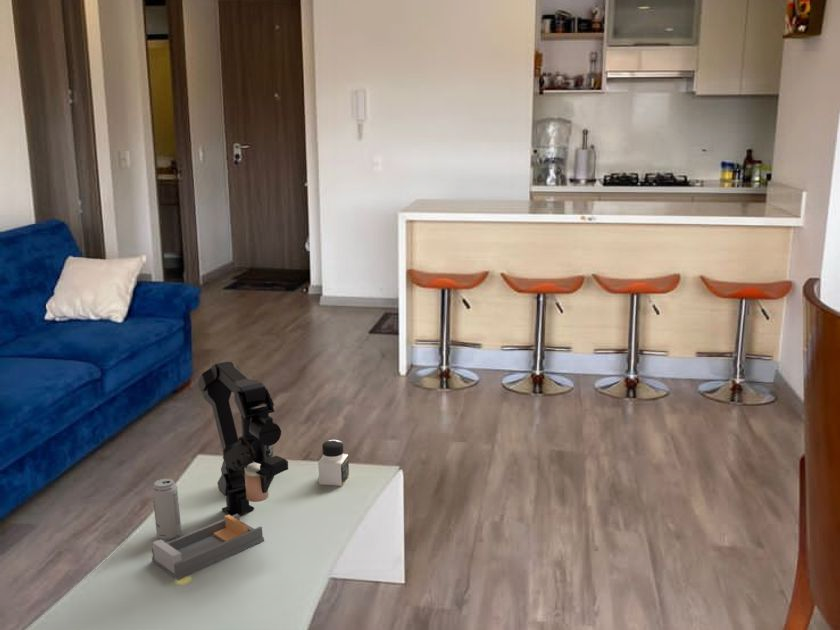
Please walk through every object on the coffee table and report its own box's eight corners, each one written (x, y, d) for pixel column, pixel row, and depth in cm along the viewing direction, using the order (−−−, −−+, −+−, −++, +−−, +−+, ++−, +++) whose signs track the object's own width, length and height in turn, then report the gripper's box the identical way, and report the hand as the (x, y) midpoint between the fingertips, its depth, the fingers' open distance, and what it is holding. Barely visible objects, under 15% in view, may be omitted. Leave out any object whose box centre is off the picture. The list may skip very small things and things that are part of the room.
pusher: (213, 535, 202) (212, 521, 201) (229, 528, 205) (228, 514, 204) (232, 546, 196) (231, 532, 195) (248, 539, 200) (247, 525, 199)
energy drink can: (158, 531, 206) (153, 478, 203) (182, 529, 207) (177, 475, 204) (155, 543, 200) (150, 488, 197) (180, 540, 202) (175, 486, 198)
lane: (152, 561, 192) (150, 540, 191) (237, 525, 209) (235, 506, 208) (178, 579, 184) (175, 558, 183) (263, 540, 201) (262, 520, 200)
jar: (258, 489, 207) (256, 460, 205) (273, 495, 204) (271, 466, 202) (241, 497, 203) (239, 468, 201) (256, 504, 200) (254, 473, 198)
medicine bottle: (342, 486, 231) (340, 447, 228) (318, 484, 232) (317, 446, 229) (349, 476, 238) (347, 438, 235) (326, 474, 239) (324, 436, 236)
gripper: (203, 433, 199) (208, 490, 202) (253, 452, 187) (256, 512, 191) (239, 420, 207) (242, 475, 211) (288, 437, 196) (291, 495, 200)
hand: (257, 489), depth 203 cm, fingers closed on jar, 6 cm apart
